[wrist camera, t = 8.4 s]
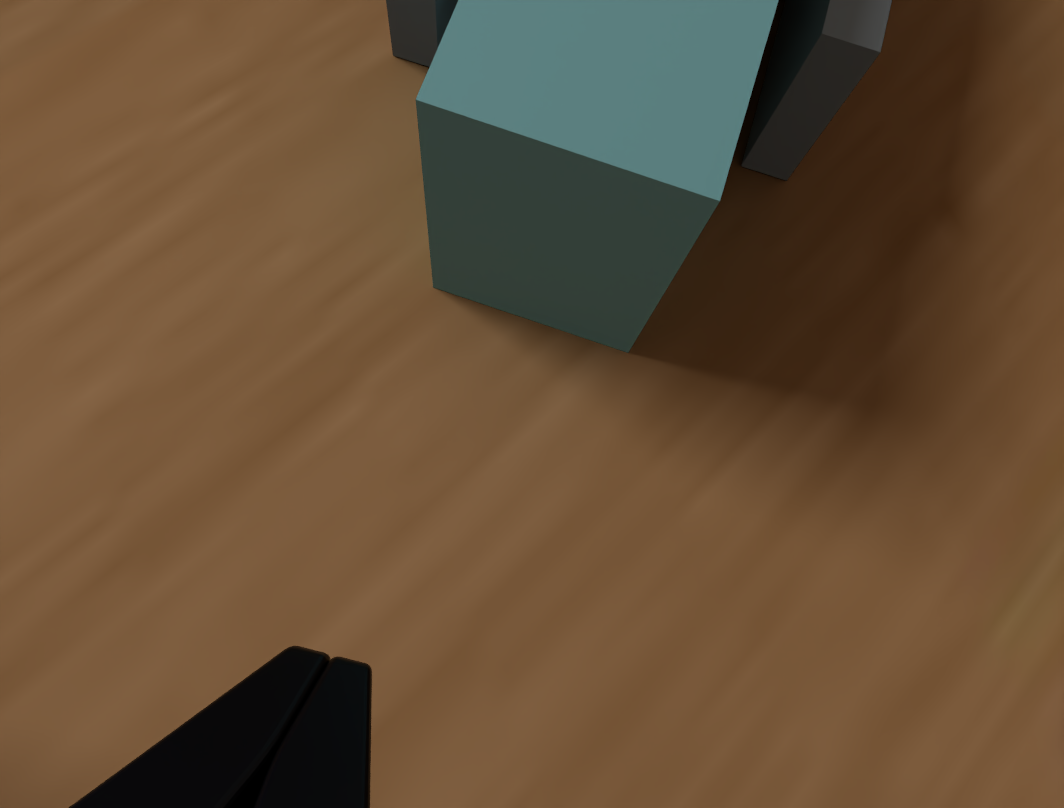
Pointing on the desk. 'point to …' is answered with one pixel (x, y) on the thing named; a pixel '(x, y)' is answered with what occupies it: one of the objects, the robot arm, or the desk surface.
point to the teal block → (581, 150)
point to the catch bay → (790, 82)
